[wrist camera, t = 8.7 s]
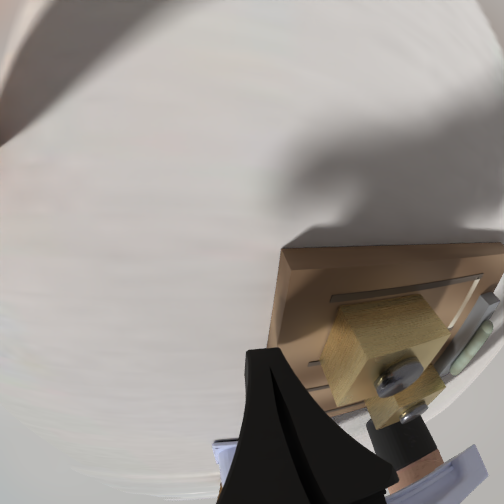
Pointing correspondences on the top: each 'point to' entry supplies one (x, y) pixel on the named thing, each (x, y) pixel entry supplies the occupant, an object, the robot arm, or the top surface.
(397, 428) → the travel mug
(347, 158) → the top surface
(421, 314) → the slide
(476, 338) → the base
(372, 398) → the slide
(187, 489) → the top surface
